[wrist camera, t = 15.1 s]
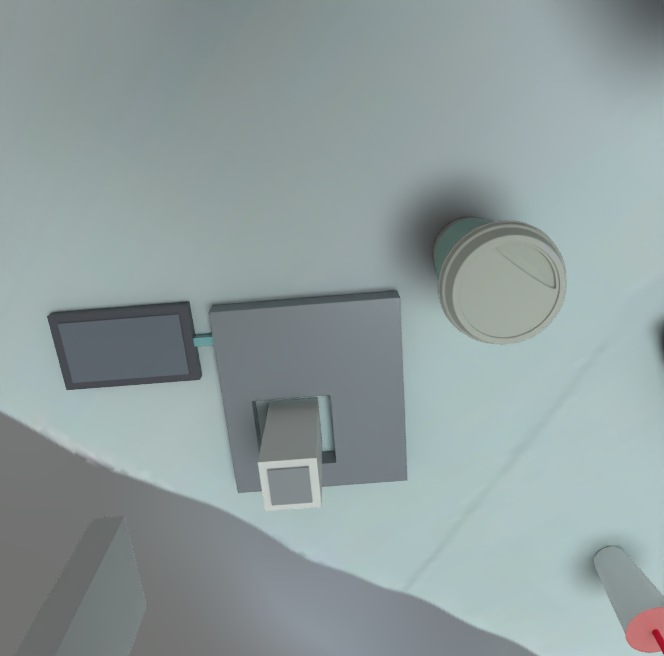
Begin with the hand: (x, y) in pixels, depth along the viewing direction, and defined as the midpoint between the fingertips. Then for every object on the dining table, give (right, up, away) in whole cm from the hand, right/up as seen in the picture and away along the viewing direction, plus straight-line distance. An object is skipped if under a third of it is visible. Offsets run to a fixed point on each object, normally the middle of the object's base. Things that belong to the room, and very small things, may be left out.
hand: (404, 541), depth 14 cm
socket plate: (-3, -1, +39) cm, 39 cm away
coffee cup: (+10, +12, +35) cm, 38 cm away
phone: (-16, +4, +37) cm, 41 cm away
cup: (+27, -19, +47) cm, 57 cm away
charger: (-5, -4, +40) cm, 41 cm away
